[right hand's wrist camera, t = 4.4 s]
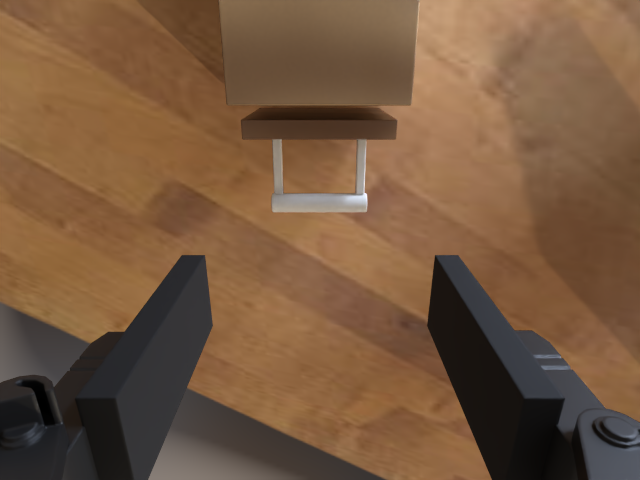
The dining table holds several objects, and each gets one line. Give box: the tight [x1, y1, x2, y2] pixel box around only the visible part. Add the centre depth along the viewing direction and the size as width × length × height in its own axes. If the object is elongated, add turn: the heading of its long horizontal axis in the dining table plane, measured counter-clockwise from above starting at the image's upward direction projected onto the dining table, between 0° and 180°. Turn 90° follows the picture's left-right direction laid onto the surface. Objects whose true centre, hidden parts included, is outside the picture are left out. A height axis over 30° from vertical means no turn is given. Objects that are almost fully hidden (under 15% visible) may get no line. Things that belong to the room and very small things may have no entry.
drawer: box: [241, 108, 397, 212], centre depth 28 cm, size 23×10×9 cm, turn 0°
